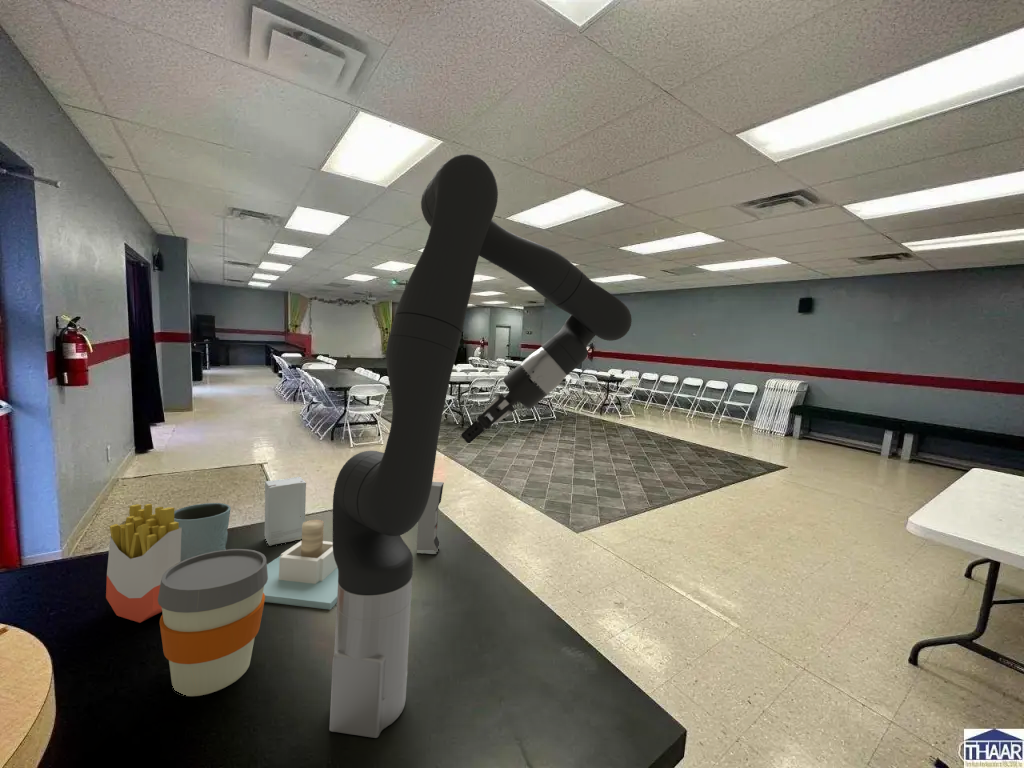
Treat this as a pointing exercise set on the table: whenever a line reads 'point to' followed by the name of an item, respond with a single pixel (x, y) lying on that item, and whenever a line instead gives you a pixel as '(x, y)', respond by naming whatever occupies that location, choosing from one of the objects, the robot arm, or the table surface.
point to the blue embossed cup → (202, 528)
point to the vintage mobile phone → (430, 520)
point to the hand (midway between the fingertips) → (469, 435)
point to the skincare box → (284, 509)
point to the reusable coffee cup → (211, 617)
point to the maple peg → (312, 538)
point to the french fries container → (141, 560)
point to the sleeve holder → (303, 579)
